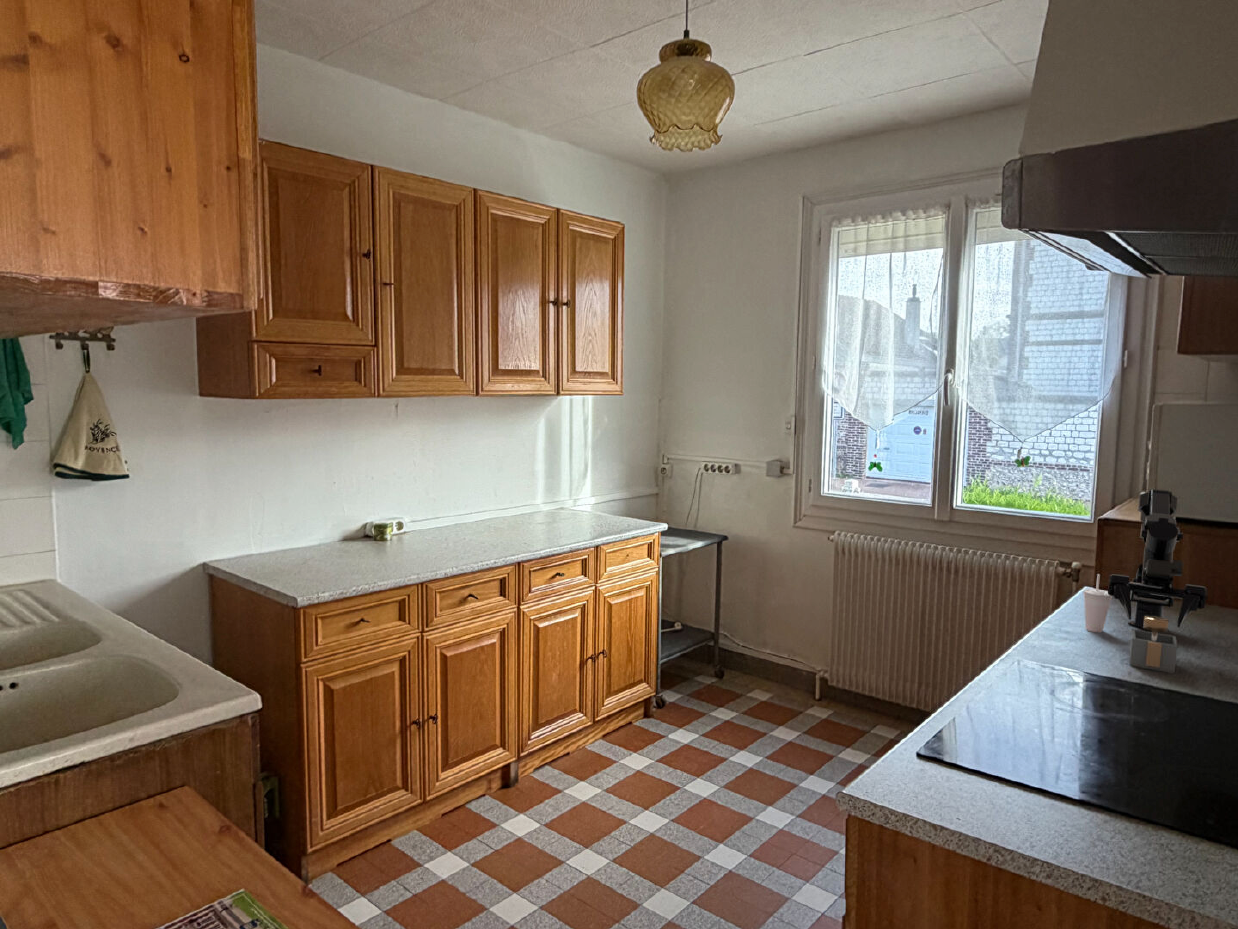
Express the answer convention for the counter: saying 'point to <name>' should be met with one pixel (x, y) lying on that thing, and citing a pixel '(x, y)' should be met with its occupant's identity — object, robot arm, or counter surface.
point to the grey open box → (1153, 651)
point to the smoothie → (1096, 607)
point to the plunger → (1155, 625)
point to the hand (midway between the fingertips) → (1153, 622)
